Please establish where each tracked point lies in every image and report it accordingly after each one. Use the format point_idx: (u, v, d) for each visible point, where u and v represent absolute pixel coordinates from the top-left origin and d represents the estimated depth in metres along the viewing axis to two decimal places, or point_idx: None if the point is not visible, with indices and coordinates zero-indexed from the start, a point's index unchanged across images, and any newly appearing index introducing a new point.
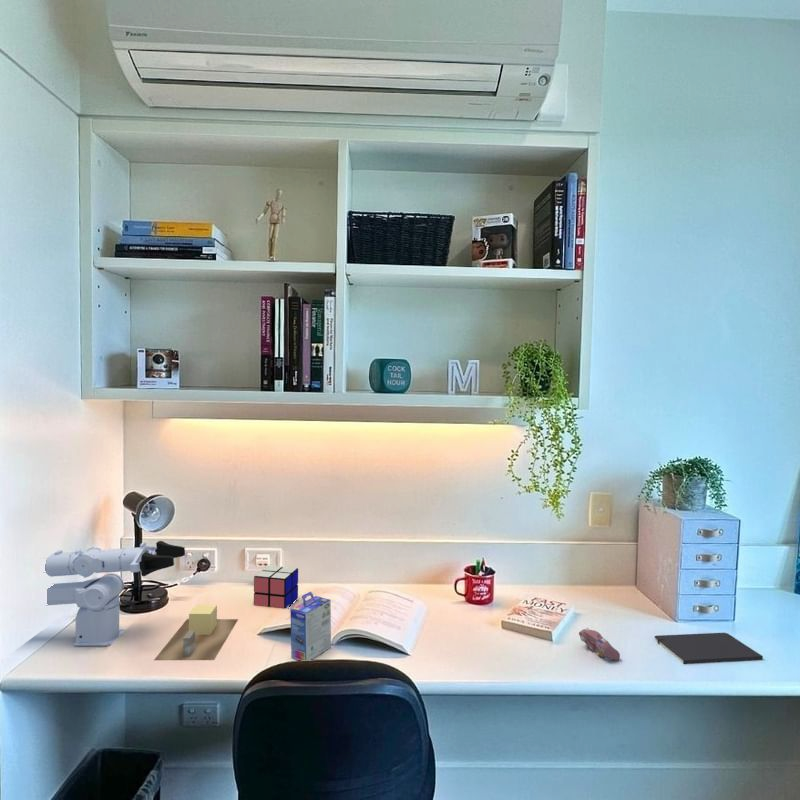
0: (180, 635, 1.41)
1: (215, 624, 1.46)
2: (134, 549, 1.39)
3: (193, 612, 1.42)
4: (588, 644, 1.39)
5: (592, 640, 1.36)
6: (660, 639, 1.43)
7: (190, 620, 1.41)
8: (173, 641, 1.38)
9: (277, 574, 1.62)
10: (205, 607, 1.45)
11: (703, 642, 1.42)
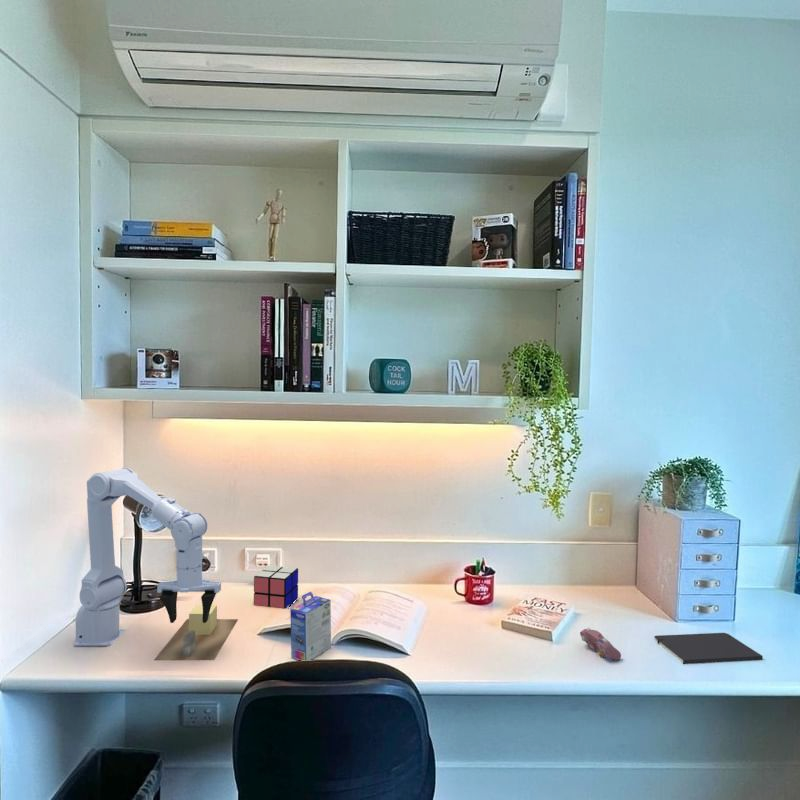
0: (180, 635, 1.41)
1: (215, 624, 1.46)
2: (181, 581, 1.29)
3: (193, 612, 1.42)
4: (589, 644, 1.39)
5: (593, 640, 1.37)
6: (660, 639, 1.43)
7: (190, 620, 1.41)
8: (173, 641, 1.38)
9: (277, 574, 1.62)
10: None
11: (703, 642, 1.42)
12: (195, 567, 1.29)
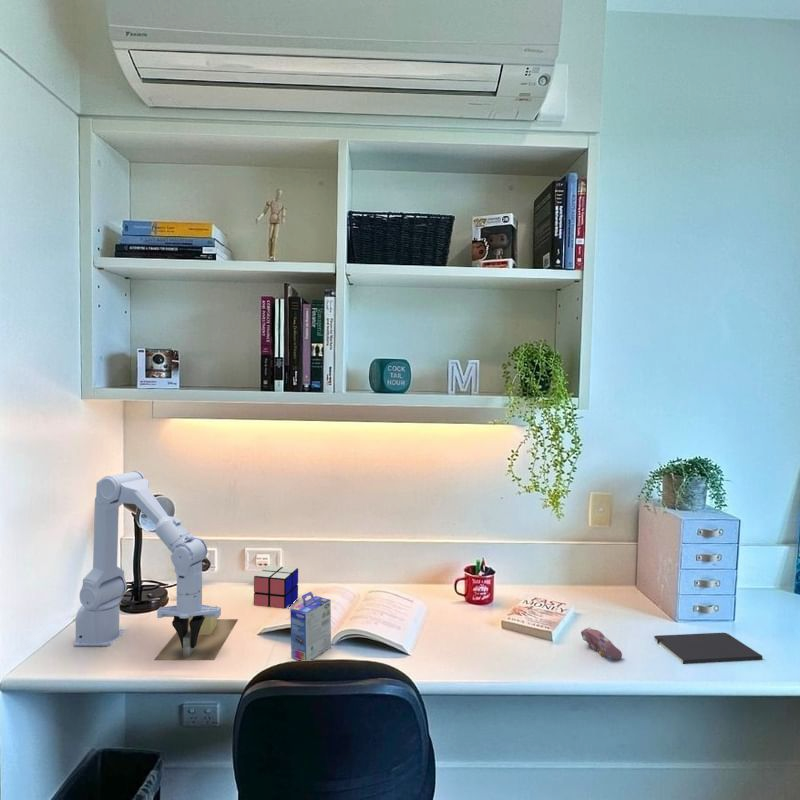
0: None
1: (215, 624, 1.46)
2: (181, 606, 1.29)
3: None
4: (590, 643, 1.39)
5: (594, 640, 1.37)
6: (660, 639, 1.43)
7: (190, 620, 1.41)
8: (173, 641, 1.38)
9: (277, 574, 1.62)
10: None
11: (703, 642, 1.42)
12: (195, 593, 1.30)
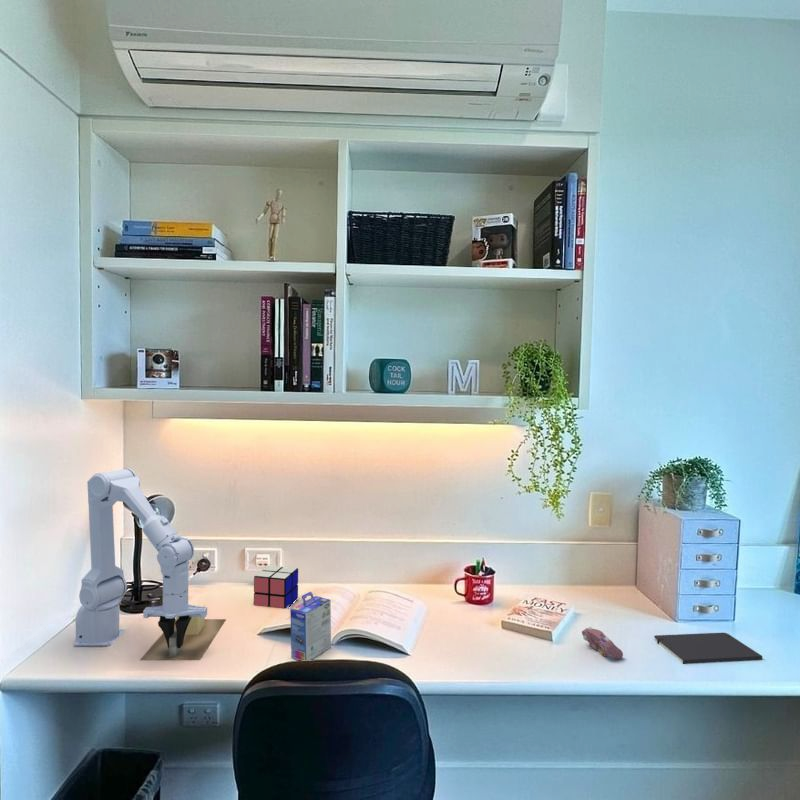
0: None
1: (203, 624, 1.46)
2: (167, 606, 1.29)
3: None
4: (591, 643, 1.39)
5: (595, 640, 1.37)
6: (660, 639, 1.43)
7: None
8: (160, 641, 1.37)
9: (277, 574, 1.62)
10: None
11: (703, 642, 1.42)
12: (181, 593, 1.30)
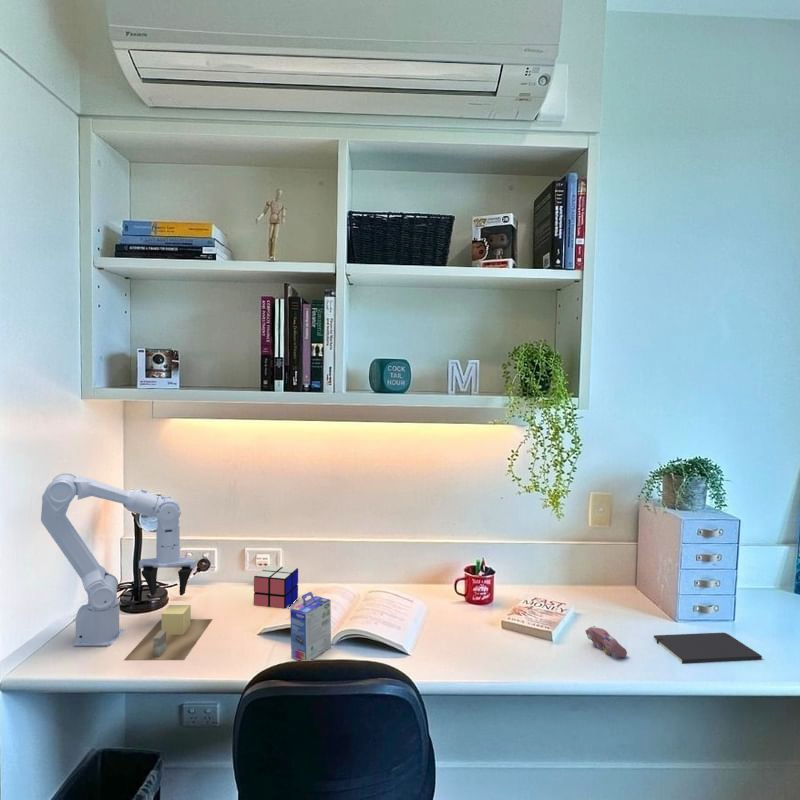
0: (153, 635, 1.41)
1: (188, 624, 1.45)
2: (160, 557, 1.44)
3: (165, 612, 1.41)
4: (595, 642, 1.40)
5: (599, 638, 1.38)
6: (659, 639, 1.44)
7: (163, 620, 1.41)
8: (145, 641, 1.37)
9: (277, 574, 1.62)
10: (179, 607, 1.45)
11: (702, 642, 1.42)
12: (173, 545, 1.45)
